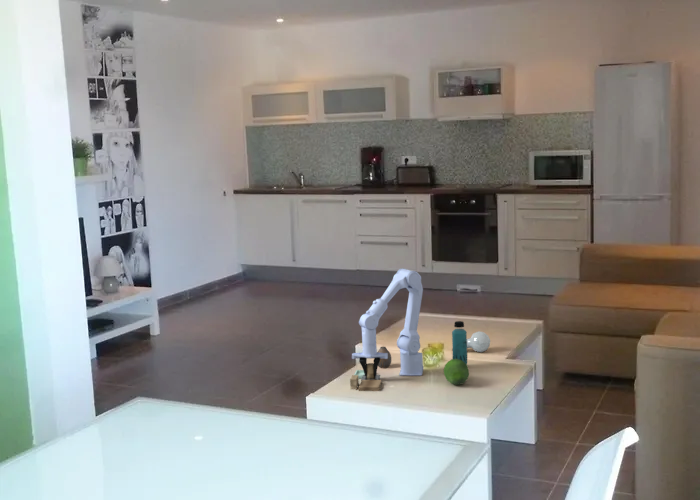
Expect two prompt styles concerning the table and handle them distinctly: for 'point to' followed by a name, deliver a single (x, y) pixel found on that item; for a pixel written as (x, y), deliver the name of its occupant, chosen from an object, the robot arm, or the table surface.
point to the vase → (384, 362)
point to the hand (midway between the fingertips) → (370, 375)
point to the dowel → (370, 371)
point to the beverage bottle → (459, 342)
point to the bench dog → (354, 382)
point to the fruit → (456, 371)
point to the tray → (359, 373)
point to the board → (370, 385)
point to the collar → (371, 379)
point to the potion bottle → (478, 341)
